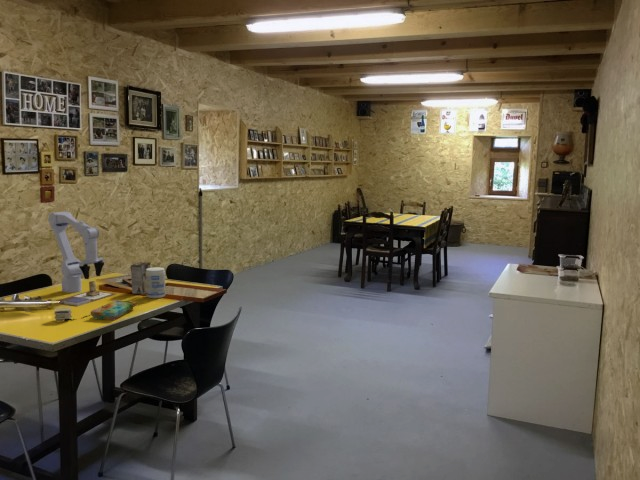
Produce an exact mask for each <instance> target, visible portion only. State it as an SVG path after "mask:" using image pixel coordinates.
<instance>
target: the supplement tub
mask: <svg viewBox="0 0 640 480" xmlns="http://www.w3.org/2000/svg"><path fill="white" fill-rule="evenodd" d="M145 296H146V298H149V299H160V298H163V297H165V296H166V271H165V267H162V266H161V267H160V266H159V267H156V266H155V267H150V268H147V269H146V293H145Z"/></svg>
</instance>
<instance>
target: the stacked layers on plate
mask: <svg viewBox="0 0 640 480" xmlns="http://www.w3.org/2000/svg"><path fill="white" fill-rule="evenodd" d="M71 310H72V308H71V307H70V306H65V307H57V308H54V313H53V314H54V315H55V316H54V319H55V322H56V321H61V322H64V321H63V320H65V319H66V320H67V319H69V320H70V319H71V318H72V317H73V316H72V311H71ZM66 320H65V321H66Z"/></svg>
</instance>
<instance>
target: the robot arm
mask: <svg viewBox="0 0 640 480" xmlns="http://www.w3.org/2000/svg"><path fill="white" fill-rule="evenodd" d="M47 219H48V220H47V221H48V224H49V225H50V228H51V230H52V231H53V234H54V236H55V239H56V240H55V241H56V243H57V245H58V247H59V251H60V253H61V255H62V256H61V257H62V259H63V261H62V263H61V264H60V267H61V274H62V275H63V277H62V279H61V291H62V292H65V293H68V294H76V293H77V294H78V293H80V292H81V293H82V292H83V290H82V276H83V277H84V279H85V280H90V269H91V266H90V265H92V264H93V265H94V269H95V276H96V277H101V273H102V269H103V268H104V265H105V258H104V257H98V240H97V239H98V238H99V235H100V232H99V229H98V228H97V227H94V226H93V227H91V226H90V225H88V224H87V223H85V221H83V220H82V221H81V220H80V221H79V220H78V219H76V218H75V217H74V216H73V215H72V213H71V212H70V211H68V210H67V211H57V212H49V214H48V217H47ZM69 225H70V226H71V227H73V228H74V231H75V232H77V233H78V234H79V235H81V238H82V241H83V242H82V243H83V244H84V252H85V253H84V254H85V255H84V256H85V257H84V258H85V260H82V261H81V260H80V259H78V258H77V257H75V255H74V252H73V249H72V246H71V244H70V242H69V238H68V236H67V233H66V229H67V228H68V227H69Z"/></svg>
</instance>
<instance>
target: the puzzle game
mask: <svg viewBox="0 0 640 480" xmlns="http://www.w3.org/2000/svg"><path fill="white" fill-rule="evenodd" d="M138 305H139V303H138V301H130V300H116V299H115V300H114V301H111V302H109V303H106V304H104V305H101V306H99V307H97V308H95V309H93V310H91V311H90V315H91V317H92V318H93V319H95V318H97V319H96V320H104V319H109V320H108V321H115V320H117V319H119V318H120V317H124V316H125V315H126V314H128V313H130V312H132V311H133V309H134V308H135V307H137V306H138ZM116 318H117V319H116ZM114 319H115V320H114Z"/></svg>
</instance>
